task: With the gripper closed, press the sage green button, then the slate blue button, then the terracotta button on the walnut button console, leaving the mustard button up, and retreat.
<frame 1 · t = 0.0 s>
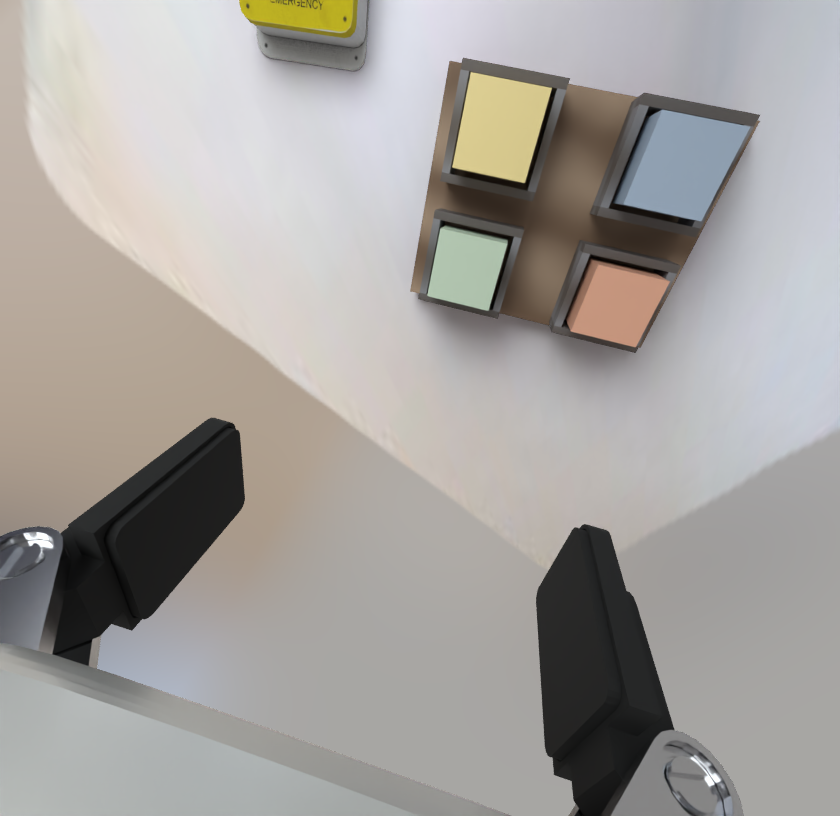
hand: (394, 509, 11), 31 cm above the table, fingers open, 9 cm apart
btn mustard: (499, 133, 27), point 5 cm above the table, slide at 0.0 cm
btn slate: (673, 169, 26), point 5 cm above the table, slide at 0.0 cm
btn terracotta: (612, 302, 31), point 5 cm above the table, slide at 0.0 cm
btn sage: (467, 267, 32), point 5 cm above the table, slide at 0.0 cm
console: (553, 218, 33), on the table
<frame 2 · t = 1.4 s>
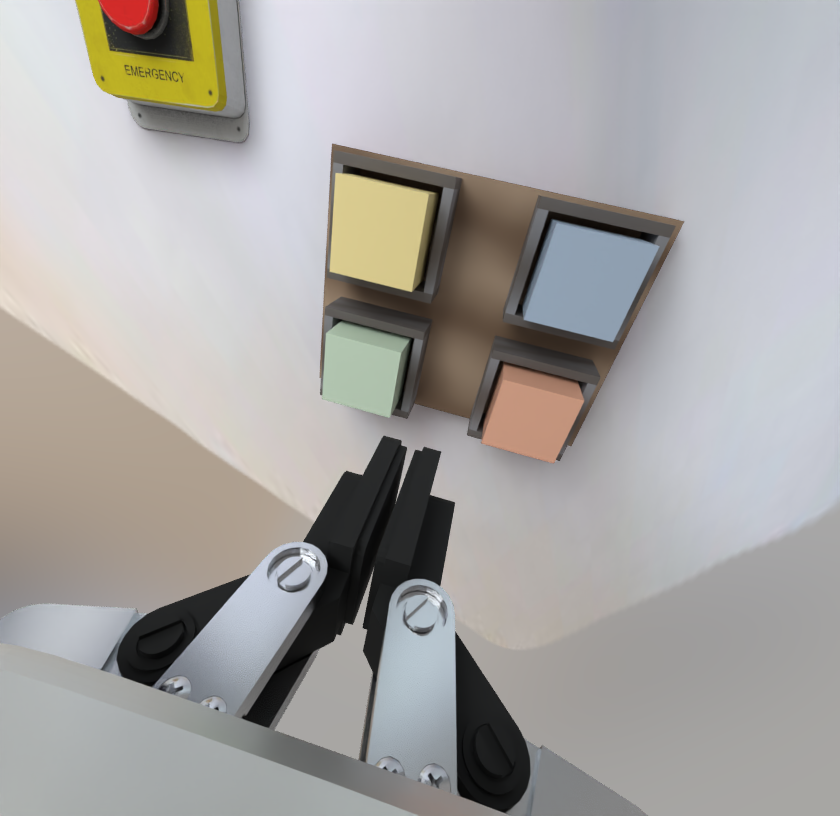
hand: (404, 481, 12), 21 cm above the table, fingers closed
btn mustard: (384, 232, 23), point 5 cm above the table, slide at 0.0 cm
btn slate: (581, 279, 22), point 5 cm above the table, slide at 0.0 cm
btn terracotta: (528, 410, 27), point 5 cm above the table, slide at 0.0 cm
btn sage: (367, 367, 28), point 5 cm above the table, slide at 0.0 cm
console: (469, 307, 30), on the table
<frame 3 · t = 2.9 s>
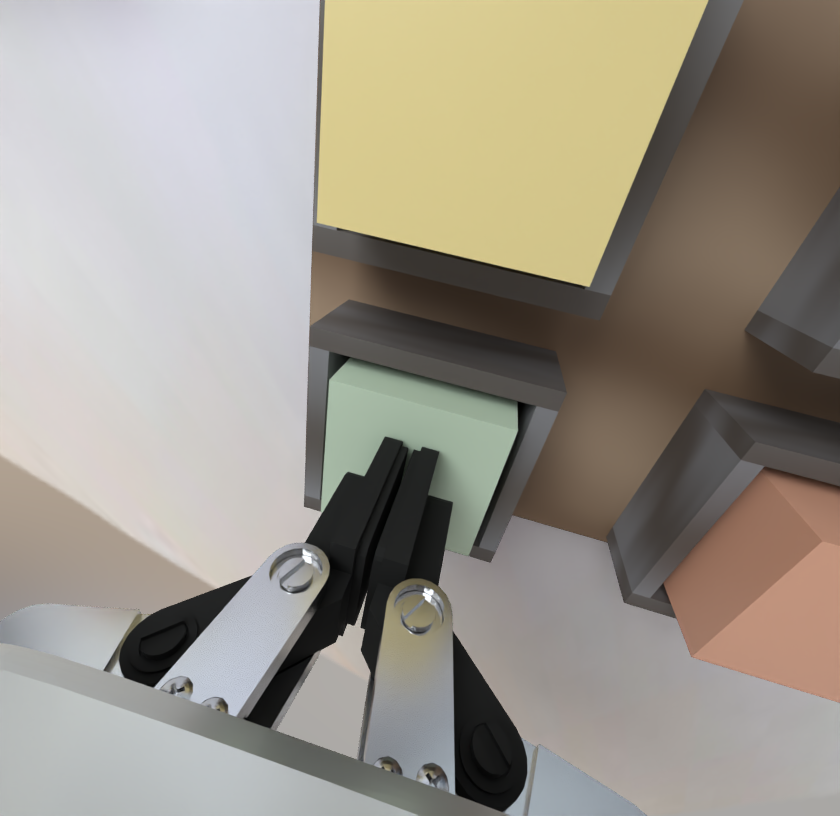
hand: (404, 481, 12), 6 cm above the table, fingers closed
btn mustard: (492, 95, 7), point 5 cm above the table, slide at 0.0 cm
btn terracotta: (810, 579, 11), point 5 cm above the table, slide at 0.0 cm
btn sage: (417, 444, 13), point 4 cm above the table, slide at 1.2 cm, touching gripper
console: (627, 322, 14), on the table
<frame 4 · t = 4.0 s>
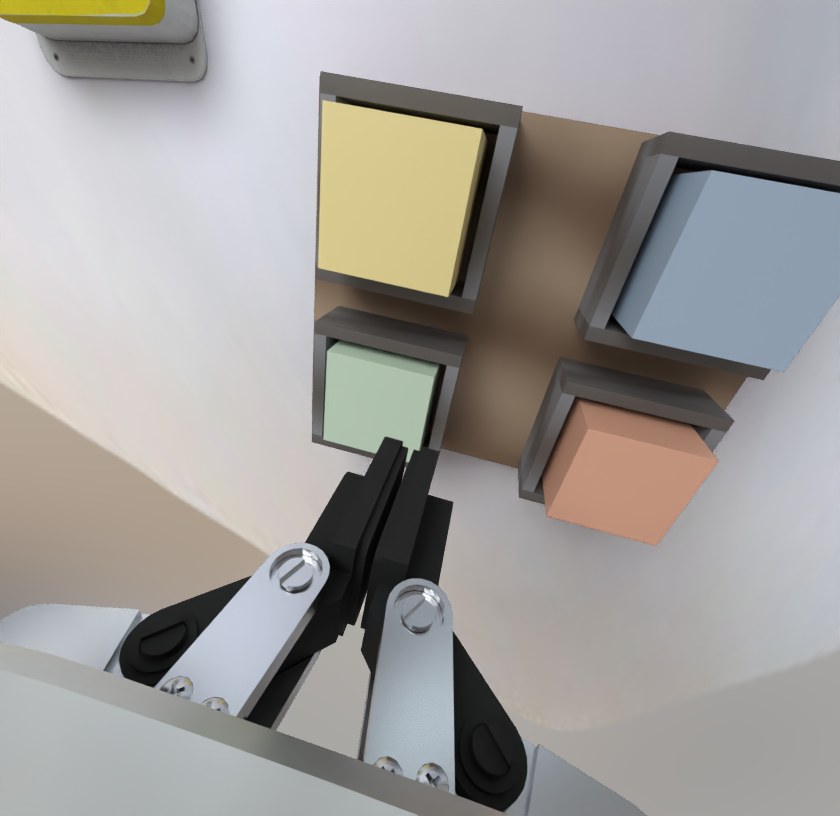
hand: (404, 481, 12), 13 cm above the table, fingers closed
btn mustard: (402, 205, 15), point 5 cm above the table, slide at 0.0 cm
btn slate: (725, 270, 14), point 5 cm above the table, slide at 0.0 cm
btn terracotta: (615, 467, 18), point 5 cm above the table, slide at 0.0 cm
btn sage: (383, 395, 21), point 4 cm above the table, slide at 1.3 cm
console: (518, 316, 21), on the table
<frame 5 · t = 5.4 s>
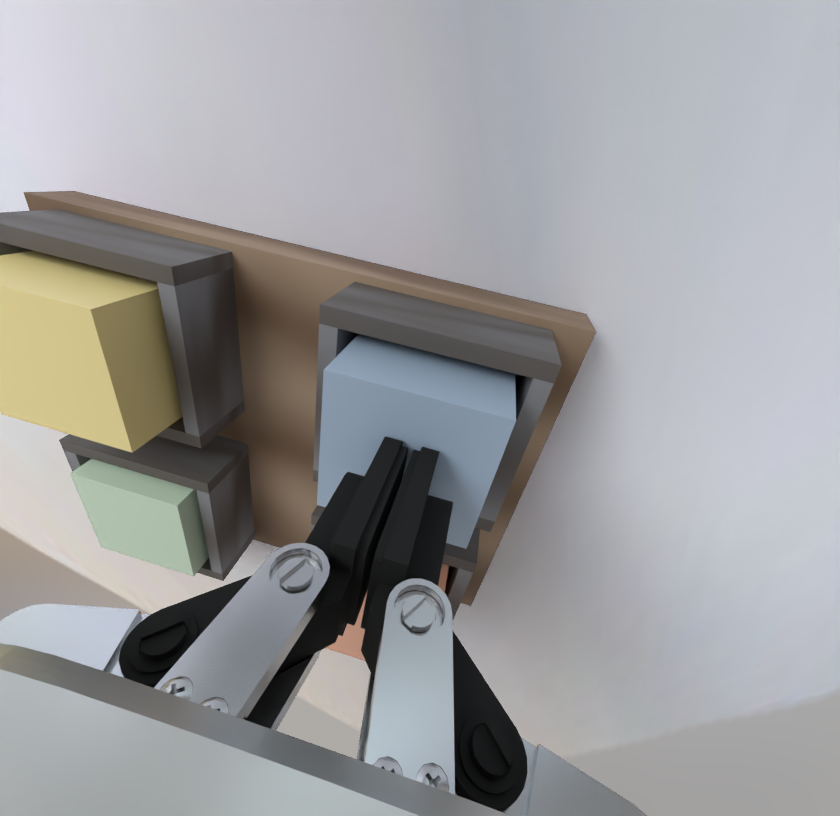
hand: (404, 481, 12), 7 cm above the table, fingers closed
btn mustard: (89, 348, 14), point 5 cm above the table, slide at 0.0 cm
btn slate: (414, 436, 13), point 5 cm above the table, slide at 0.1 cm, touching gripper
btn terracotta: (380, 594, 18), point 5 cm above the table, slide at 0.0 cm
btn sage: (163, 502, 20), point 4 cm above the table, slide at 1.3 cm
console: (310, 419, 20), on the table
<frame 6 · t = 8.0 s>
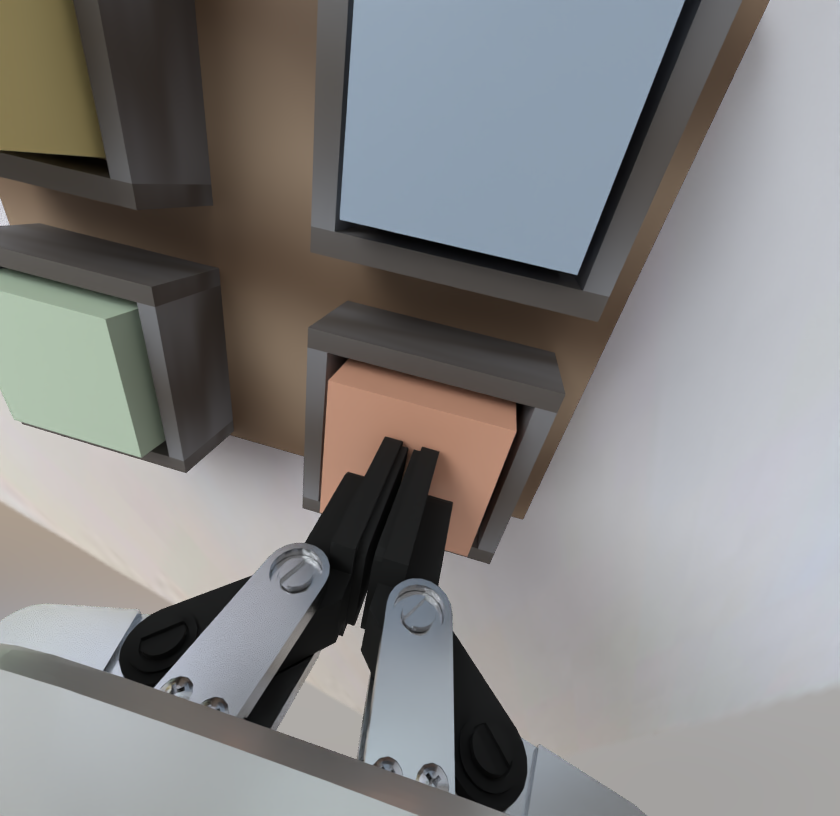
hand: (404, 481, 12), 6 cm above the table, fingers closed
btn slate: (493, 108, 8), point 4 cm above the table, slide at 1.3 cm
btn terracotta: (416, 445, 13), point 4 cm above the table, slide at 1.2 cm, touching gripper
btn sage: (101, 356, 14), point 4 cm above the table, slide at 1.3 cm
console: (308, 246, 15), on the table
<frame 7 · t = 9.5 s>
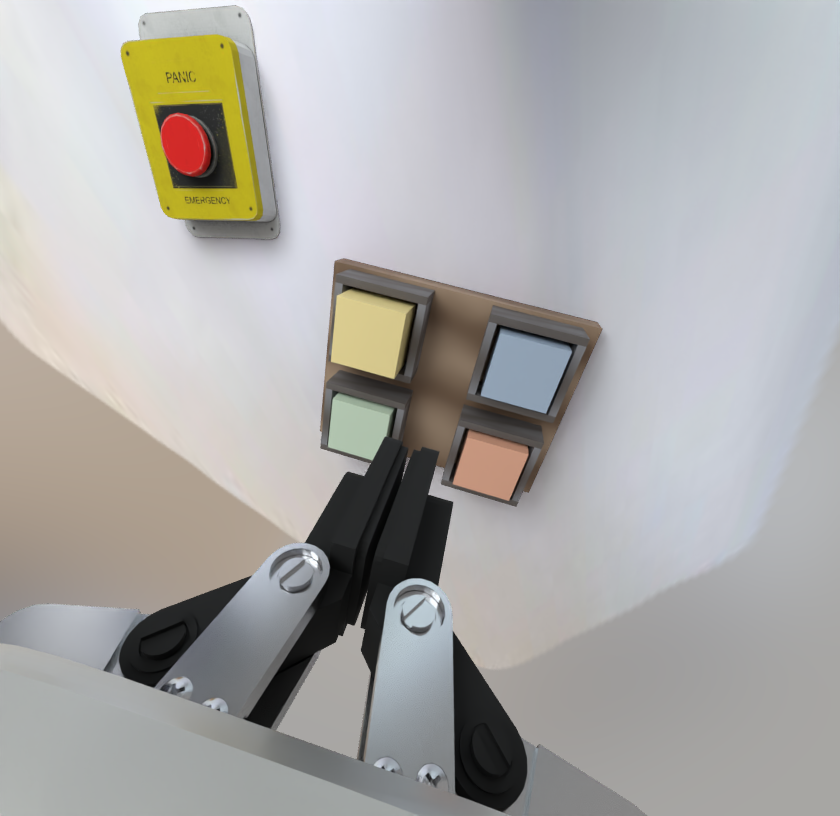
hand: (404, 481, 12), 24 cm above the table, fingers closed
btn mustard: (373, 332, 30), point 5 cm above the table, slide at 0.0 cm
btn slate: (523, 366, 30), point 4 cm above the table, slide at 1.3 cm
emergency button: (221, 138, 31), on the table
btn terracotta: (489, 459, 35), point 4 cm above the table, slide at 1.2 cm
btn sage: (363, 422, 36), point 4 cm above the table, slide at 1.3 cm
console: (443, 379, 36), on the table
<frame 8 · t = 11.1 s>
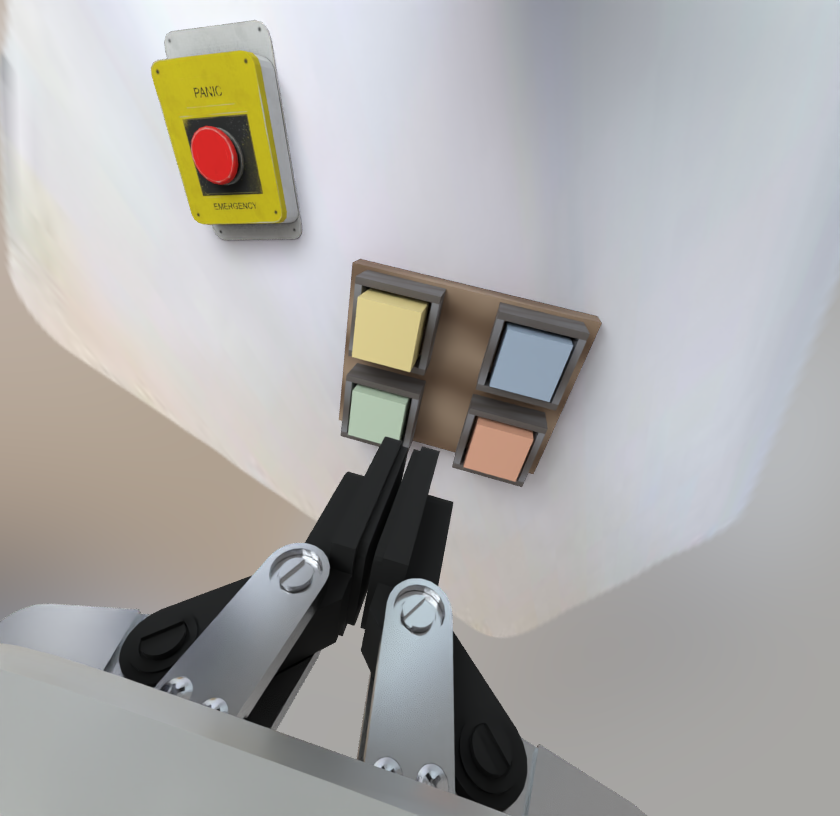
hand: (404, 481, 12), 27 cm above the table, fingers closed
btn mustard: (390, 329, 33), point 5 cm above the table, slide at 0.0 cm
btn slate: (528, 359, 33), point 4 cm above the table, slide at 1.3 cm
emergency button: (243, 145, 33), on the table
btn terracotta: (497, 443, 37), point 4 cm above the table, slide at 1.2 cm
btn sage: (380, 411, 38), point 4 cm above the table, slide at 1.3 cm
console: (454, 370, 39), on the table
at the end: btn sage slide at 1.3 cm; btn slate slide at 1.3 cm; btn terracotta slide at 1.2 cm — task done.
